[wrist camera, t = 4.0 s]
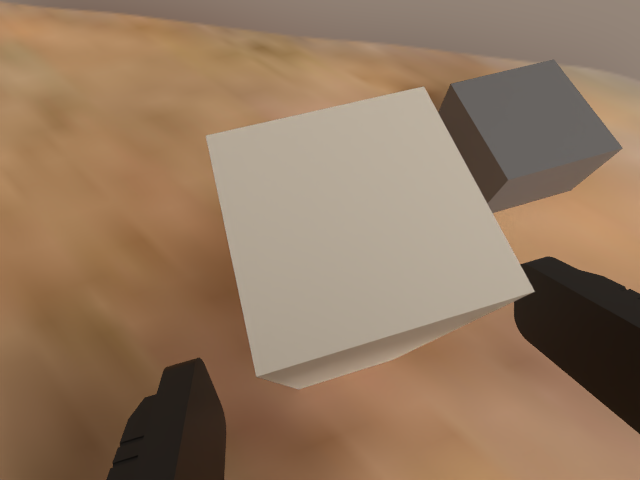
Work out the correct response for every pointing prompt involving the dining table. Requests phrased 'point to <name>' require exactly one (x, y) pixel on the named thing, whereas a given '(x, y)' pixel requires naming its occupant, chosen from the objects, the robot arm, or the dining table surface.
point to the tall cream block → (356, 236)
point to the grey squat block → (525, 133)
